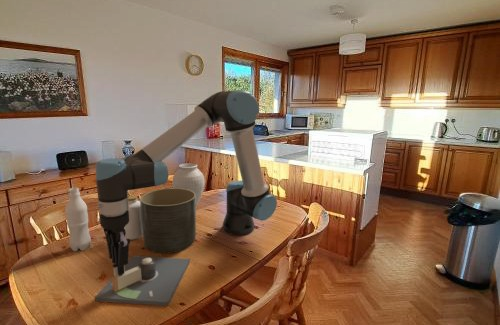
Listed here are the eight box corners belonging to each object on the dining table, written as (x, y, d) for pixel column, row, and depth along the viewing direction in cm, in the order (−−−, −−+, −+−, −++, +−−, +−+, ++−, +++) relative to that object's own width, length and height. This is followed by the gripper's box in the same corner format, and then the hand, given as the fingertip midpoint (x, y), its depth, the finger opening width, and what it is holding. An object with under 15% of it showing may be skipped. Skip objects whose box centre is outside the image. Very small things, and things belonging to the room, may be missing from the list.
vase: (176, 201, 157) (174, 161, 152) (205, 201, 159) (205, 161, 154) (170, 213, 139) (168, 168, 134) (203, 212, 141) (203, 168, 136)
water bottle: (95, 245, 106) (89, 187, 101) (79, 254, 99) (71, 192, 94) (82, 242, 108) (76, 185, 103) (65, 250, 102) (57, 190, 96)
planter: (155, 227, 123) (153, 187, 119) (201, 229, 122) (200, 188, 118) (133, 253, 101) (129, 204, 97) (189, 255, 101) (187, 206, 96)
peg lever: (151, 268, 89) (150, 254, 88) (158, 275, 86) (157, 260, 85) (110, 287, 80) (109, 271, 79) (117, 295, 77) (115, 278, 75)
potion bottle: (137, 241, 110) (134, 201, 106) (120, 239, 111) (116, 199, 108) (148, 232, 118) (146, 195, 114) (132, 230, 119) (129, 193, 116)
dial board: (190, 261, 96) (189, 258, 96) (168, 305, 75) (167, 301, 75) (132, 258, 98) (132, 255, 97) (95, 300, 76) (94, 296, 76)
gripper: (92, 208, 77) (99, 278, 82) (109, 222, 69) (116, 298, 74) (118, 202, 82) (123, 267, 87) (137, 214, 74) (141, 285, 79)
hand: (120, 281), depth 81 cm, fingers closed
